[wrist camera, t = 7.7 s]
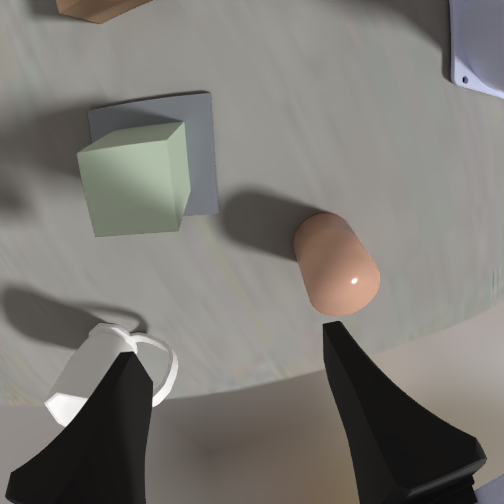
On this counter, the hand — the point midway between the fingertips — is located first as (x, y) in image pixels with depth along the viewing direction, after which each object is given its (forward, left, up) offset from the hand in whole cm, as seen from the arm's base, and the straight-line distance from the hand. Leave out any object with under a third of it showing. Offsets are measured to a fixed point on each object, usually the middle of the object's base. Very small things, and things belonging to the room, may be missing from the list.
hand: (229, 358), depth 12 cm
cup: (+9, +9, -10) cm, 16 cm away
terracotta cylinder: (-6, +1, -10) cm, 12 cm away
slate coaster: (+4, -5, -10) cm, 12 cm away
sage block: (+4, -5, -10) cm, 12 cm away
